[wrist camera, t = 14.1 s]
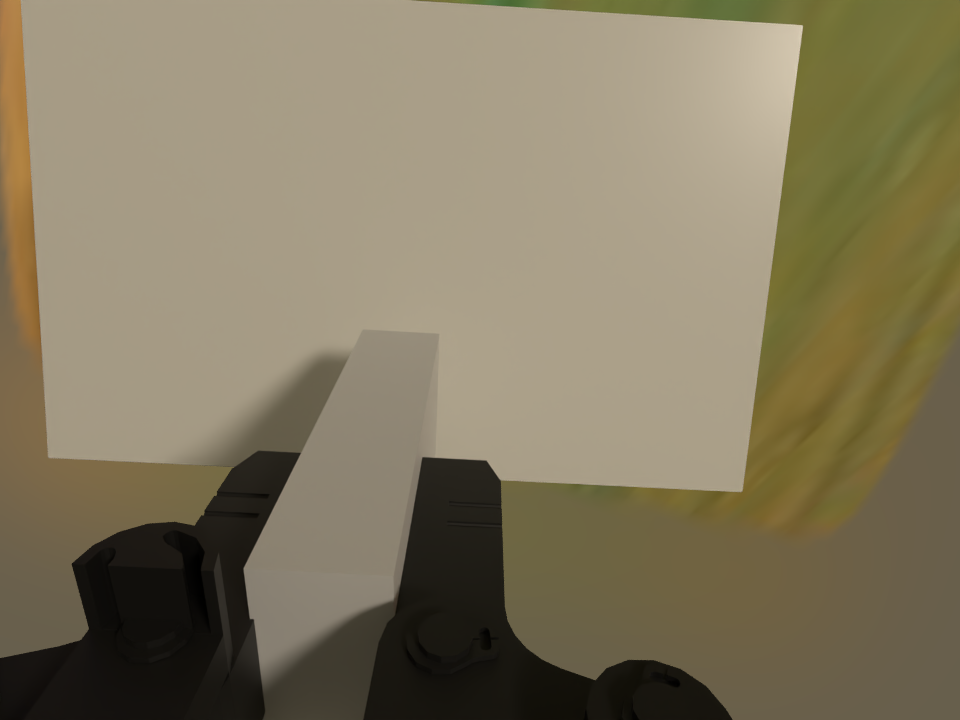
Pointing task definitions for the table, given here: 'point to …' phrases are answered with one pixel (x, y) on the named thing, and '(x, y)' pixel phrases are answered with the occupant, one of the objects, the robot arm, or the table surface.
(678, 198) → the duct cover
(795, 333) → the table surface
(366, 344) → the robot arm
